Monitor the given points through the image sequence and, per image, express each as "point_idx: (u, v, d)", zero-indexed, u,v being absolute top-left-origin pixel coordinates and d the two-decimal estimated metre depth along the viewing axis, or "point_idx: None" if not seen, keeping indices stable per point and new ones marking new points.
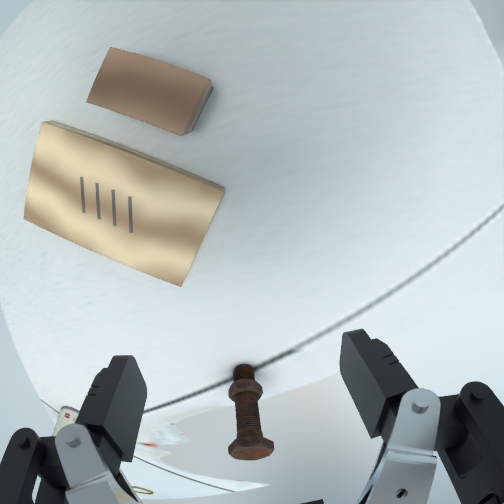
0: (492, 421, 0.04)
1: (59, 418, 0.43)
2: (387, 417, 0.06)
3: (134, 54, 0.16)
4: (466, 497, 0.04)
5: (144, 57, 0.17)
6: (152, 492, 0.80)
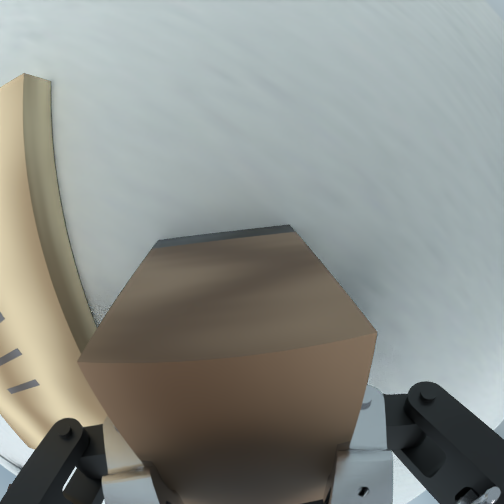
0: (449, 420, 0.05)
1: None
2: None
3: (351, 423, 0.05)
4: (438, 491, 0.04)
5: None
6: None
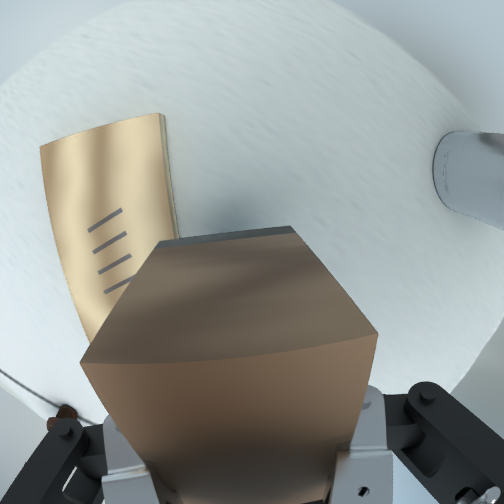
0: (449, 420, 0.05)
1: None
2: None
3: (352, 423, 0.05)
4: (438, 491, 0.04)
5: None
6: None
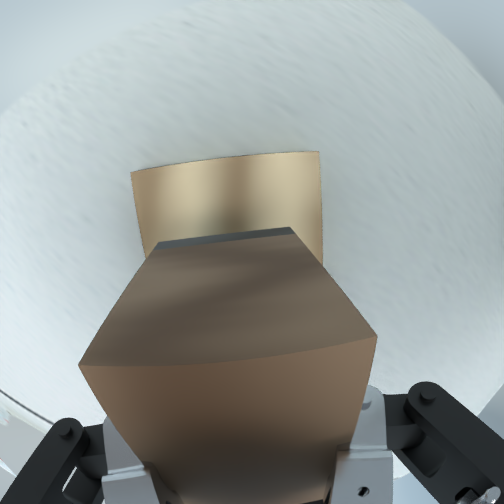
0: (449, 420, 0.05)
1: None
2: None
3: (351, 425, 0.05)
4: (438, 492, 0.04)
5: None
6: None
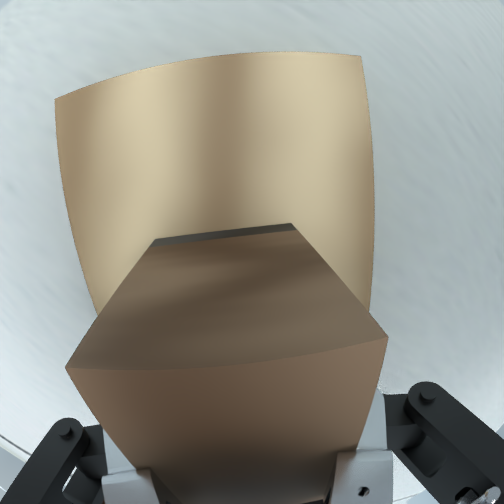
0: (449, 420, 0.05)
1: None
2: None
3: (357, 431, 0.05)
4: (438, 492, 0.04)
5: None
6: None
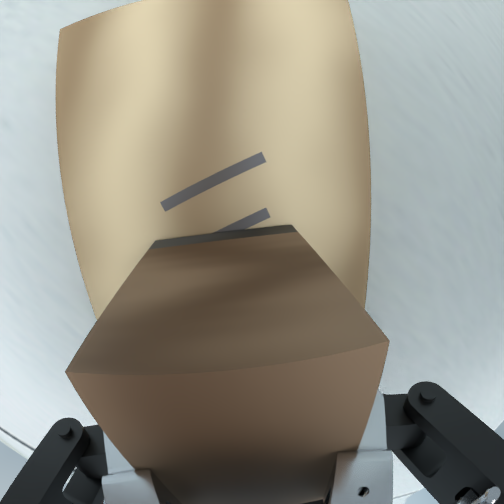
0: (449, 419, 0.05)
1: None
2: None
3: (358, 434, 0.05)
4: (438, 491, 0.04)
5: None
6: None
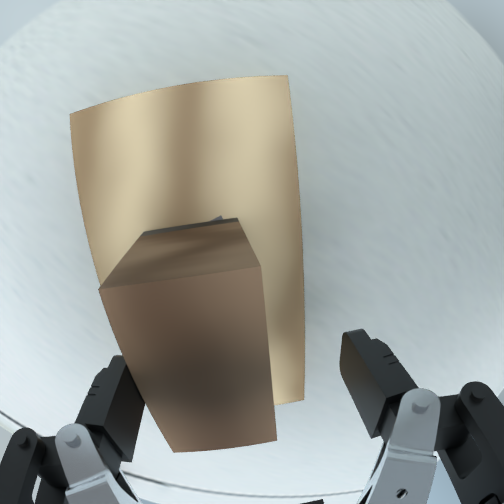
0: (492, 421, 0.04)
1: None
2: (387, 417, 0.06)
3: (263, 336, 0.09)
4: (466, 497, 0.04)
5: (266, 357, 0.09)
6: None
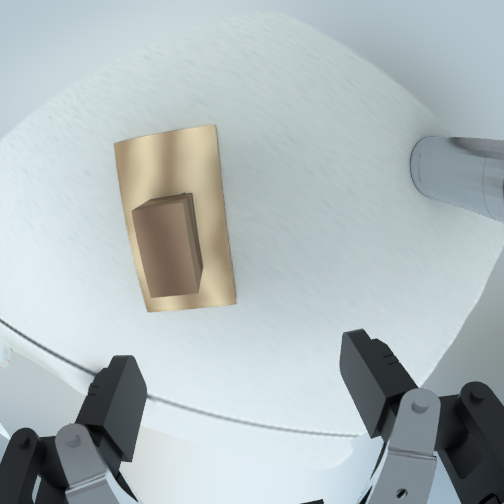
0: (492, 421, 0.04)
1: None
2: (387, 417, 0.06)
3: (185, 229, 0.25)
4: (466, 497, 0.04)
5: (187, 239, 0.26)
6: None
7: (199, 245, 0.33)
